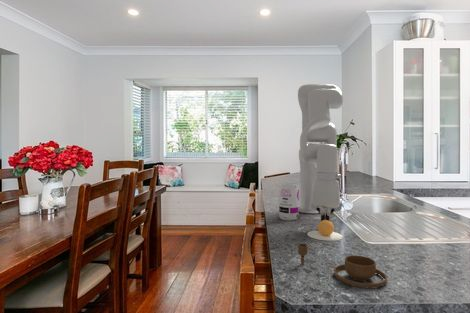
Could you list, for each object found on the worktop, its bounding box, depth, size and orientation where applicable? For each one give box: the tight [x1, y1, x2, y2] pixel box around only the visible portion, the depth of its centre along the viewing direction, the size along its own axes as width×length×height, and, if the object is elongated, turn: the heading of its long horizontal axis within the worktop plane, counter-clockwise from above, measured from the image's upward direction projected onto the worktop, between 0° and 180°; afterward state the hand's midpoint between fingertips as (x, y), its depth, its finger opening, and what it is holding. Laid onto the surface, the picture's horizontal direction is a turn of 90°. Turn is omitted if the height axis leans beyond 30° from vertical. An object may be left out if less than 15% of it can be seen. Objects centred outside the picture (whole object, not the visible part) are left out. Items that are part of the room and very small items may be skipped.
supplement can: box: [278, 182, 300, 222], centre depth 137 cm, size 8×8×15 cm
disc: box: [307, 230, 344, 242], centre depth 112 cm, size 12×12×1 cm
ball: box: [317, 220, 335, 236], centre depth 112 cm, size 6×6×6 cm
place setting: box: [297, 243, 388, 289], centre depth 80 cm, size 18×20×6 cm
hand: (324, 225), depth 121 cm, fingers closed
